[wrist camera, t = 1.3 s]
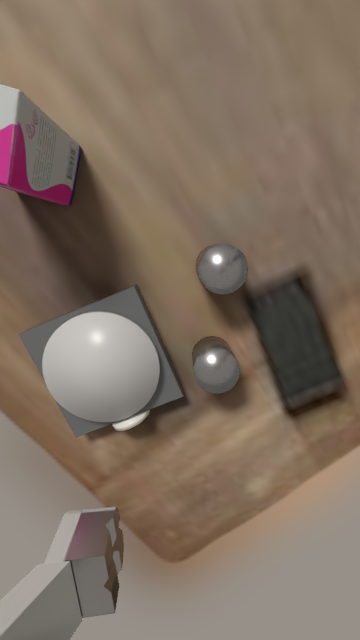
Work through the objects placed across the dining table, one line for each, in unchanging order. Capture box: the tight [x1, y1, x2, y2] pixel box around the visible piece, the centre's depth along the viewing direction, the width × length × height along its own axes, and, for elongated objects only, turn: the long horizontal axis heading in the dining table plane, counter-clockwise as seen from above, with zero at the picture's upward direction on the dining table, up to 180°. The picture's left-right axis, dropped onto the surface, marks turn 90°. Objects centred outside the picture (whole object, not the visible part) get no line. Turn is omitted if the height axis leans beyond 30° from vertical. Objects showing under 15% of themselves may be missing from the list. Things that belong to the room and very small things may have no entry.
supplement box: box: [0, 85, 81, 206], centre depth 25 cm, size 6×6×12 cm
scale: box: [19, 284, 183, 437], centre depth 34 cm, size 13×14×4 cm
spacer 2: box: [192, 336, 240, 394], centre depth 33 cm, size 4×4×5 cm
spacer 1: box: [196, 245, 248, 294], centre depth 30 cm, size 4×4×5 cm
